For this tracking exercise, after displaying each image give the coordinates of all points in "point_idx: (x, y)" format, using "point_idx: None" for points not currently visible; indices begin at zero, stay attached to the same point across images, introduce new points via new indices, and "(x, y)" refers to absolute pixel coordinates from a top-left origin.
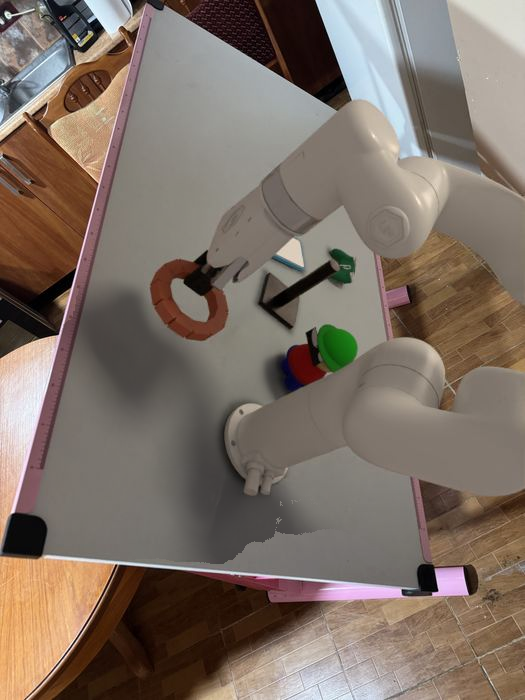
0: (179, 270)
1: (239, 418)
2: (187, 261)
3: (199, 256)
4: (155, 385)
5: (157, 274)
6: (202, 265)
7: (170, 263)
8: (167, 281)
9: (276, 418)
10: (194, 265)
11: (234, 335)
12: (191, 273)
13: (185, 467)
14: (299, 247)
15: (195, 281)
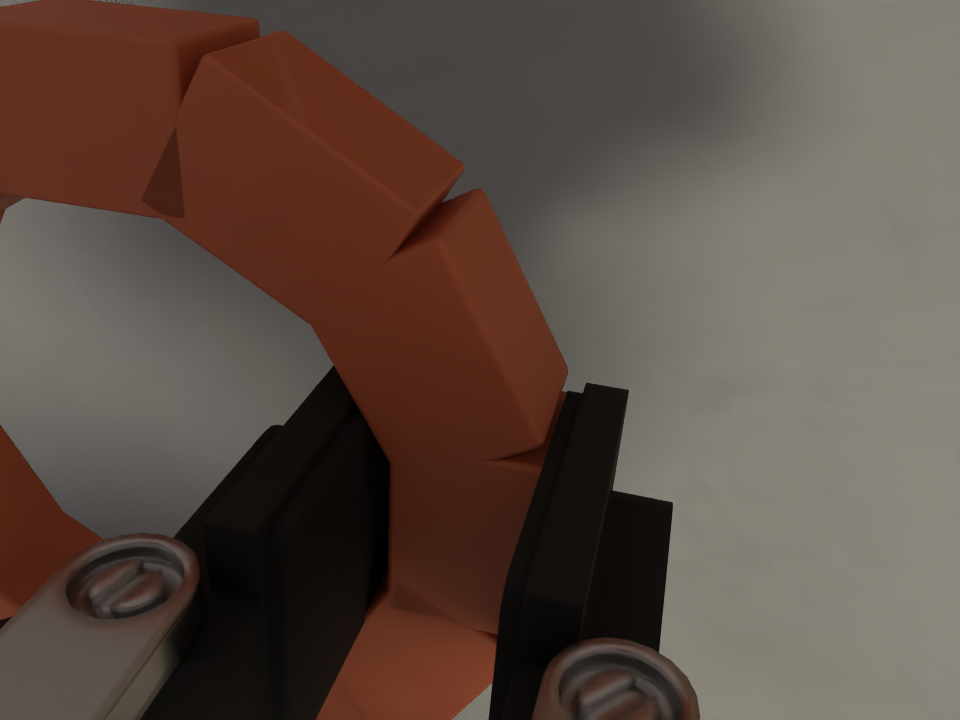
0: (270, 266)
1: None
2: (472, 346)
3: (599, 492)
4: (269, 312)
5: (88, 18)
6: (251, 549)
7: (262, 129)
8: (12, 149)
9: None
10: (487, 439)
11: (803, 691)
12: (322, 413)
13: (55, 484)
14: None
15: (238, 468)
